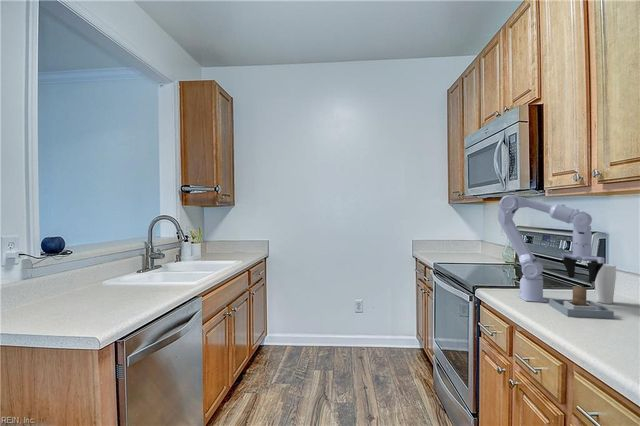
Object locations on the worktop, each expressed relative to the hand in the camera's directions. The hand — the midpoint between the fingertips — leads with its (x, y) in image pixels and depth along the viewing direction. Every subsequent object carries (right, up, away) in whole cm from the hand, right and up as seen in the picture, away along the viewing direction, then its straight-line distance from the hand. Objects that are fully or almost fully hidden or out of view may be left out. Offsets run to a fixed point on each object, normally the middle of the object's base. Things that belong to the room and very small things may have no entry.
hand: (581, 279), depth 133 cm
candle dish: (-5, -11, -6) cm, 13 cm away
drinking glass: (+13, -10, +6) cm, 18 cm away
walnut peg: (-5, -10, -6) cm, 13 cm away
